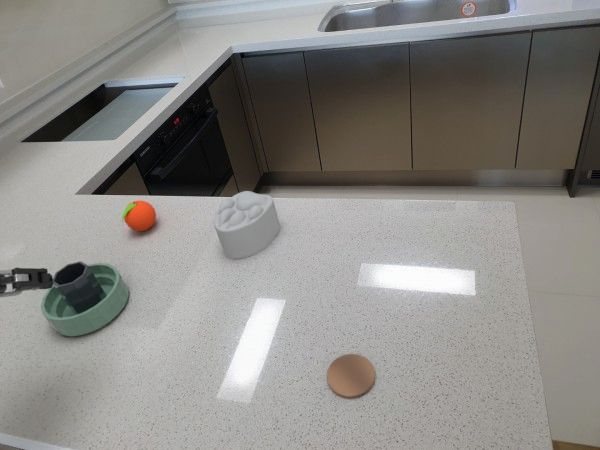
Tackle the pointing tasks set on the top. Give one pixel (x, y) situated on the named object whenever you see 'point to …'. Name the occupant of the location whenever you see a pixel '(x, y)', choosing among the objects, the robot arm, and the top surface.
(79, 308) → the cup
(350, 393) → the coaster
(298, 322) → the top surface
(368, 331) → the top surface
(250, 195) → the lumpy-topped squat cylinder
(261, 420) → the top surface
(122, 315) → the top surface
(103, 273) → the bowl
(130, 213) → the clementine
